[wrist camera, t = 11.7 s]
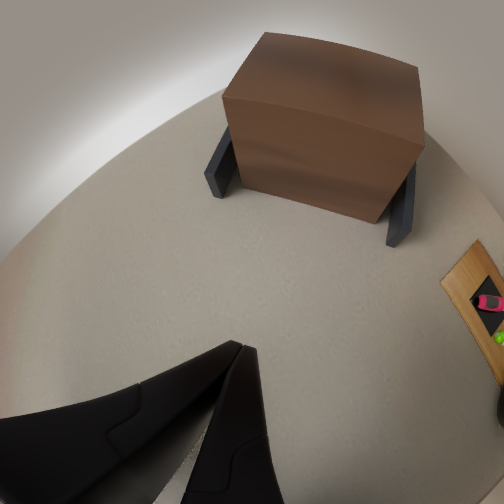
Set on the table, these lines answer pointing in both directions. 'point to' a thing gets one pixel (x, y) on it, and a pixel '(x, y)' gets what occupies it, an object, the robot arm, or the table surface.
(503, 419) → the supplement bottle
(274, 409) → the table surface
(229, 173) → the u-shaped frame
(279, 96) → the walnut block
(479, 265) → the board
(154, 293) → the table surface
